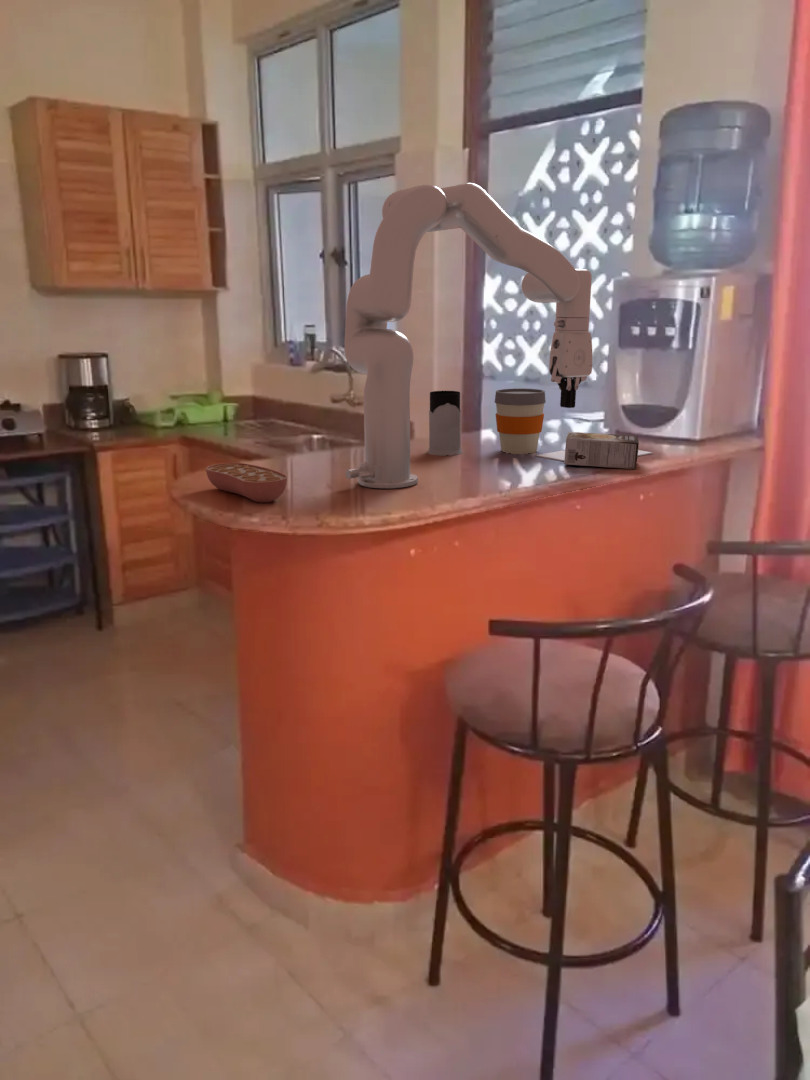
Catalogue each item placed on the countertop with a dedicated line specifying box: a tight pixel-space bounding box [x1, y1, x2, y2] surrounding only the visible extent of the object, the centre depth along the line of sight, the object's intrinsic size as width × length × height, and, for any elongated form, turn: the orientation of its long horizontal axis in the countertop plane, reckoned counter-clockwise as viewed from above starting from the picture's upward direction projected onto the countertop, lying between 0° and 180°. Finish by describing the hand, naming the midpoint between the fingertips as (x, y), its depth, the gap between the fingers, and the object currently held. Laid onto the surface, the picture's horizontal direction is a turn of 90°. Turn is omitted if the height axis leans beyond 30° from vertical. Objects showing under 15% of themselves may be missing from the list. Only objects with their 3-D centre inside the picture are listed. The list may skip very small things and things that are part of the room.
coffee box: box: [563, 431, 639, 470], centre depth 200 cm, size 9×6×16 cm
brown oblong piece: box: [205, 462, 288, 504], centre depth 174 cm, size 23×10×5 cm, turn 39°
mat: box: [535, 449, 653, 462], centre depth 213 cm, size 24×16×1 cm, turn 127°
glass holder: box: [427, 390, 463, 457], centre depth 220 cm, size 9×14×15 cm, turn 7°
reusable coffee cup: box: [494, 388, 546, 455], centre depth 218 cm, size 13×12×15 cm
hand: (567, 407), depth 203 cm, fingers closed
